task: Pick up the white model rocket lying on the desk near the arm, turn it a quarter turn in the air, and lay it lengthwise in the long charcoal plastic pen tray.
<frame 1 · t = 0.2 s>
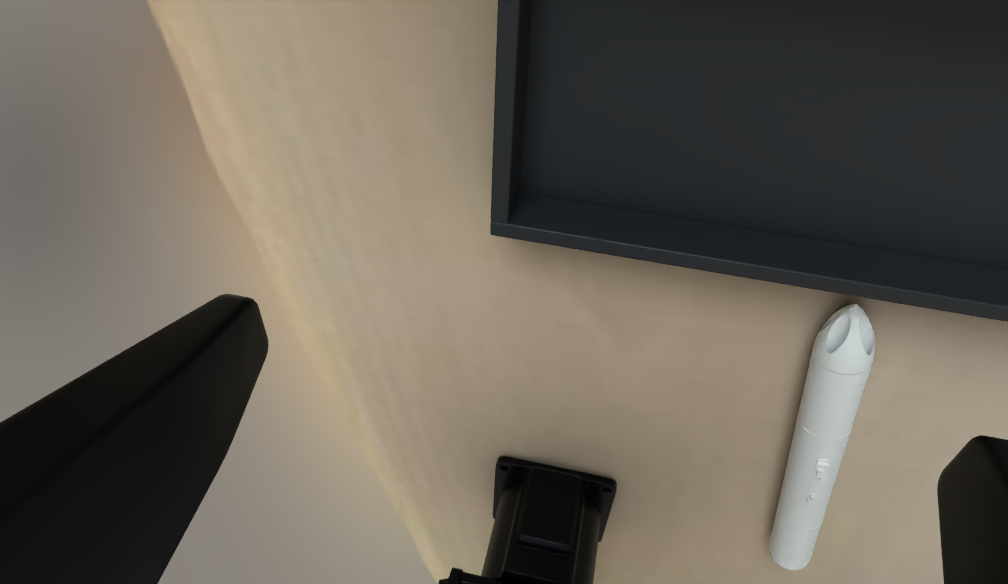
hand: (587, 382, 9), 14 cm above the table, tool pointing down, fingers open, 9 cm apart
pen tray: (895, 118, 20), on the table
white model rocket: (812, 429, 30), on the table
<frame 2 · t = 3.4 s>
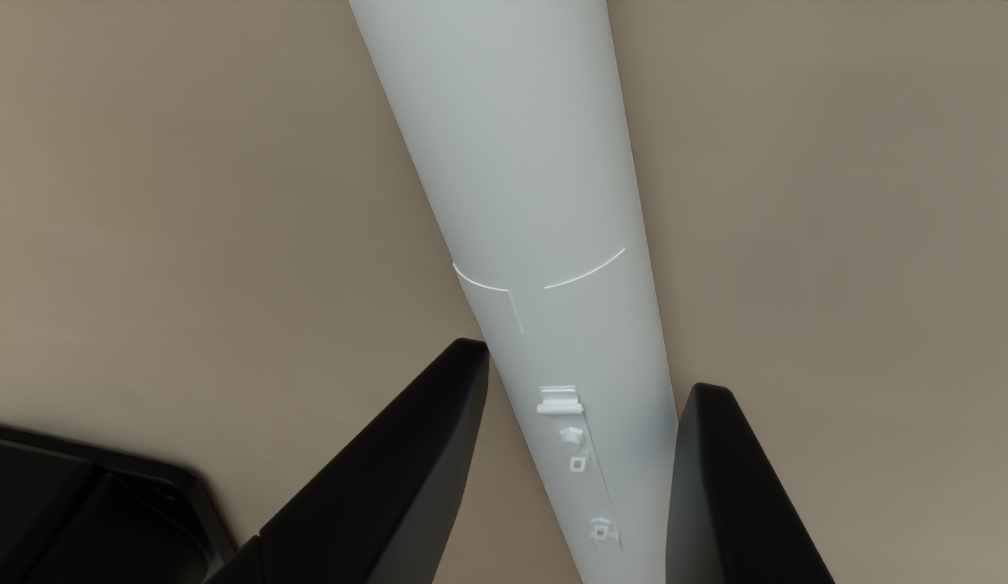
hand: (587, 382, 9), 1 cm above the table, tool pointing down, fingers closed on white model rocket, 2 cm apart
white model rocket: (597, 311, 10), on the table, touching gripper
when the fingers open (2 cm above the table, at t = 10.1 s): white model rocket stays where it is, resting on pen tray.
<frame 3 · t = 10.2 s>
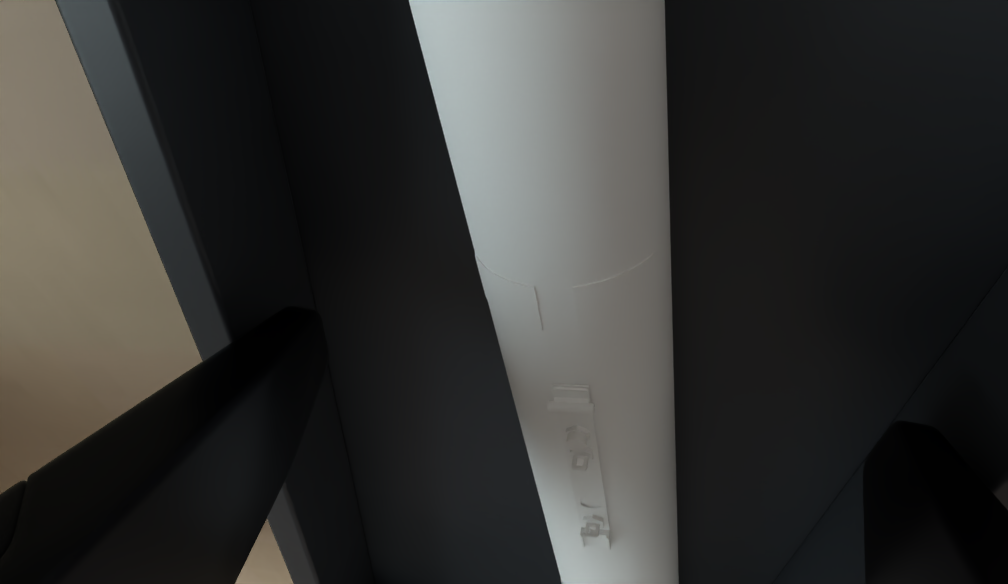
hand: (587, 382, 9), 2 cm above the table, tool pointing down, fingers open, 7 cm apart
pen tray: (601, 294, 10), on the table
white model rocket: (601, 309, 10), resting on pen tray
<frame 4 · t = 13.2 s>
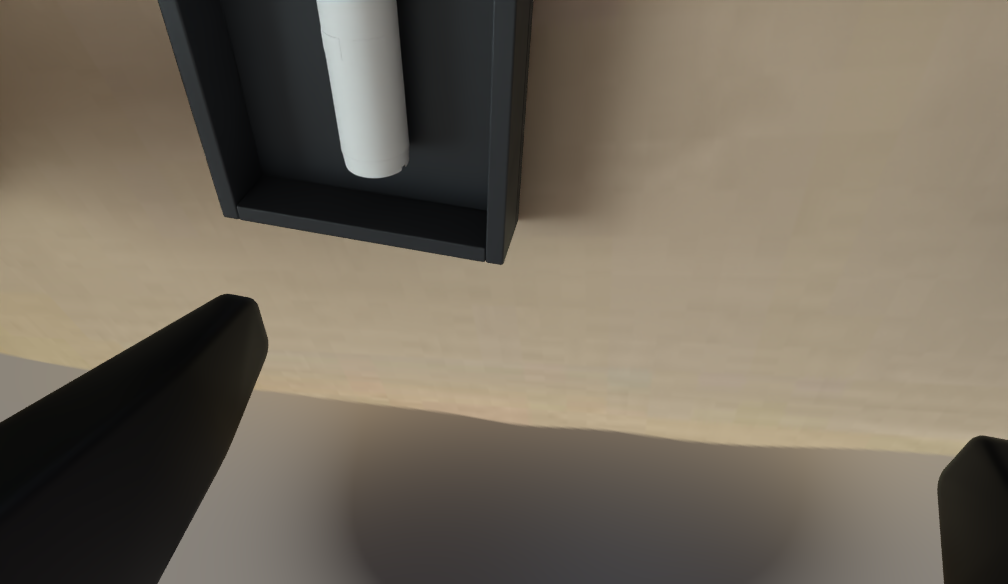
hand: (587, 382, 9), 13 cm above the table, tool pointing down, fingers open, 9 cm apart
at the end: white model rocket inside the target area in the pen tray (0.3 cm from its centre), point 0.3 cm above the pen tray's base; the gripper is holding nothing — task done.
